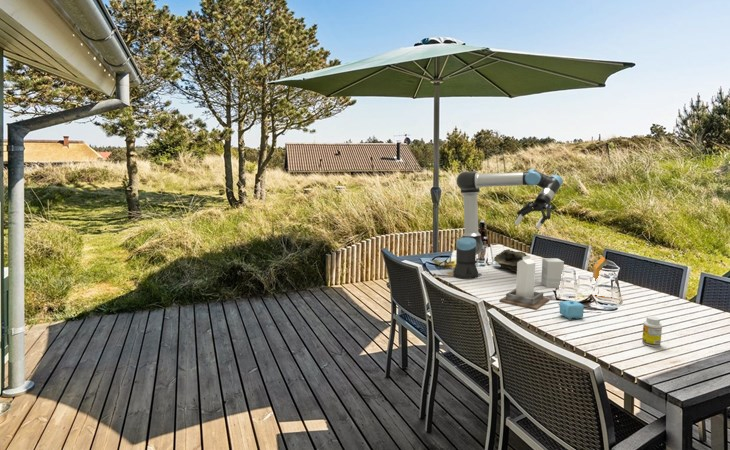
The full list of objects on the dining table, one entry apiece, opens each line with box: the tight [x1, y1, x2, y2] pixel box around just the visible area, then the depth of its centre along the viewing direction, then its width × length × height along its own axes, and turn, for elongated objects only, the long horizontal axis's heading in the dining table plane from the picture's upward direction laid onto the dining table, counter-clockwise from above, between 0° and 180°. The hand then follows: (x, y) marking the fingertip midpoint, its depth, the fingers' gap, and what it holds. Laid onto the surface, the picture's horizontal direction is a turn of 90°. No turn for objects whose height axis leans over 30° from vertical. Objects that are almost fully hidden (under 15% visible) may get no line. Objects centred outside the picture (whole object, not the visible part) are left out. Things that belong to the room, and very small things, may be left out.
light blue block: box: [556, 300, 585, 320], centre depth 175 cm, size 12×6×8 cm, turn 96°
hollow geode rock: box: [493, 248, 529, 273], centre depth 259 cm, size 28×13×15 cm
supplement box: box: [540, 257, 565, 288], centre depth 224 cm, size 9×9×15 cm
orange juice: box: [592, 255, 610, 281], centre depth 206 cm, size 8×9×20 cm
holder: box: [499, 288, 550, 311], centre depth 197 cm, size 18×18×4 cm
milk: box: [515, 255, 536, 298], centre depth 196 cm, size 6×6×22 cm
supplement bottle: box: [641, 315, 663, 348], centre depth 147 cm, size 6×6×10 cm
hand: (526, 225), depth 220 cm, fingers open, 13 cm apart
